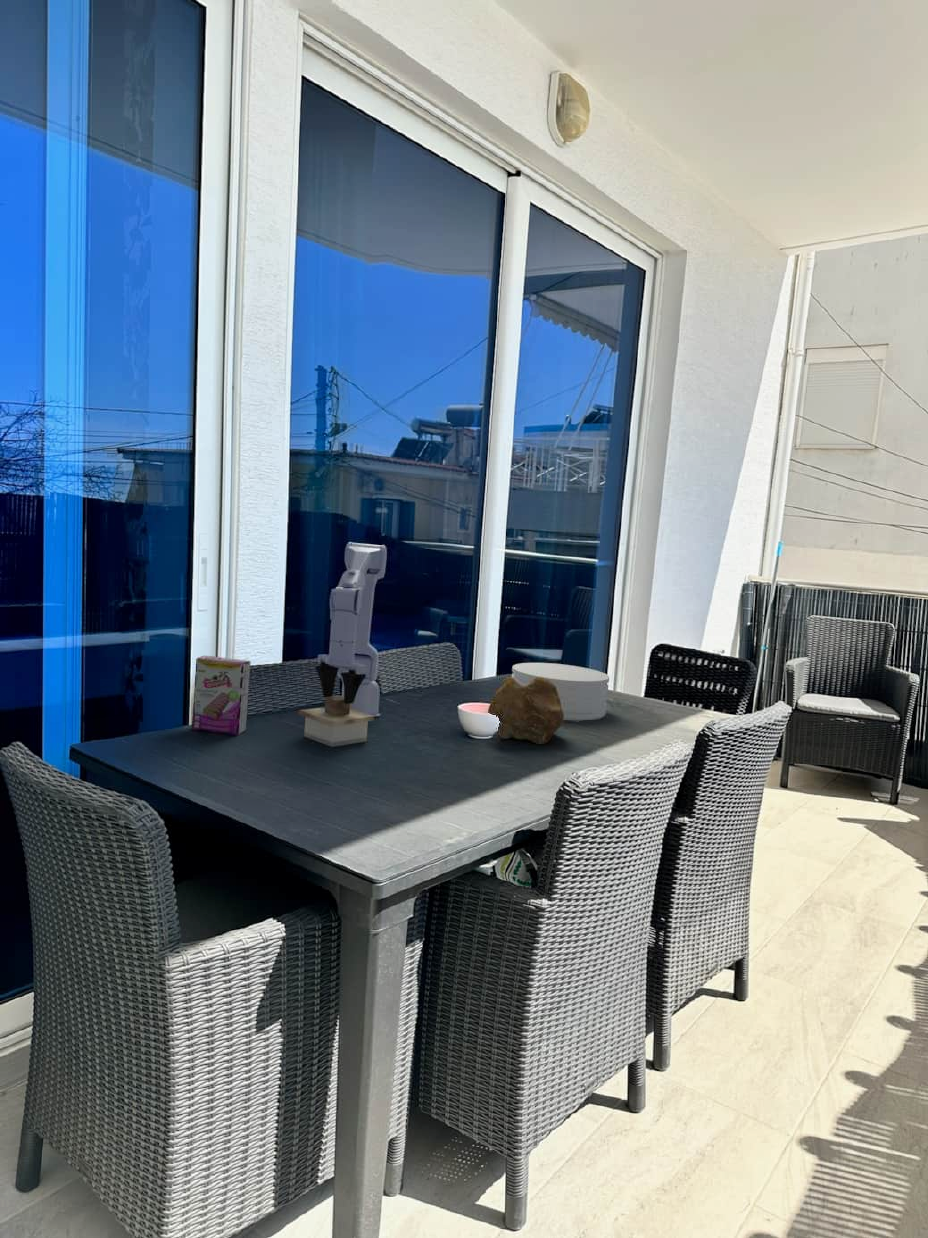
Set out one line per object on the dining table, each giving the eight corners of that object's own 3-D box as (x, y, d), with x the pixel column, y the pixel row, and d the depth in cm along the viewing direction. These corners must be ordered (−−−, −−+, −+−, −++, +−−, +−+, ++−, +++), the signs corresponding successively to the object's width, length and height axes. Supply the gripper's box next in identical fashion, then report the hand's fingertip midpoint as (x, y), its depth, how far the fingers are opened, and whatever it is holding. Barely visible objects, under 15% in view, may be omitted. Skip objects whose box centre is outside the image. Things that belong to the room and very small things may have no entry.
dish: (338, 731, 208) (340, 710, 207) (366, 741, 201) (368, 719, 200) (304, 736, 200) (305, 714, 200) (331, 746, 194) (333, 724, 193)
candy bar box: (190, 730, 197) (194, 658, 195) (199, 725, 202) (203, 654, 200) (239, 735, 196) (243, 663, 194) (246, 730, 201) (251, 660, 199)
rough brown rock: (530, 756, 204) (542, 694, 202) (474, 734, 214) (485, 675, 212) (581, 745, 222) (592, 688, 220) (527, 726, 232) (538, 671, 230)
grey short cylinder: (492, 699, 262) (496, 662, 261) (572, 699, 274) (576, 663, 273) (538, 722, 237) (542, 681, 236) (624, 721, 249) (628, 681, 248)
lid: (340, 709, 208) (342, 690, 208) (373, 720, 200) (375, 701, 200) (299, 714, 200) (300, 695, 199) (332, 726, 191) (333, 706, 191)
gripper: (308, 636, 200) (304, 694, 201) (349, 646, 190) (344, 708, 192) (333, 635, 205) (328, 692, 207) (374, 645, 195) (369, 705, 197)
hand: (338, 699), depth 200 cm, fingers open, 7 cm apart
